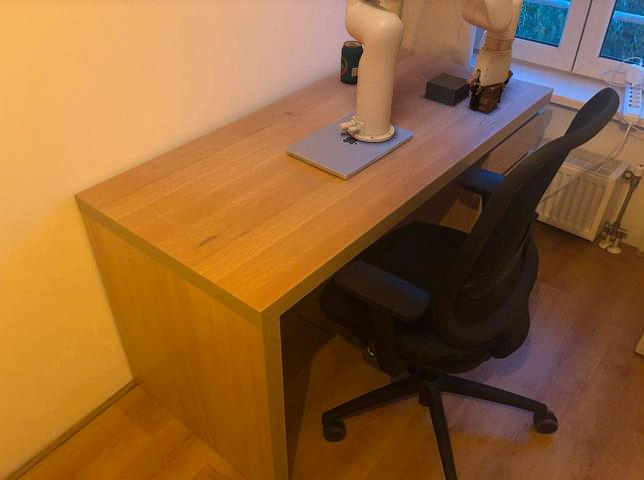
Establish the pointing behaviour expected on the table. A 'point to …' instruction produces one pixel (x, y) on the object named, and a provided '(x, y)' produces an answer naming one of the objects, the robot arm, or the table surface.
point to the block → (447, 89)
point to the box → (489, 98)
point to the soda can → (350, 62)
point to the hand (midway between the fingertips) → (484, 103)
